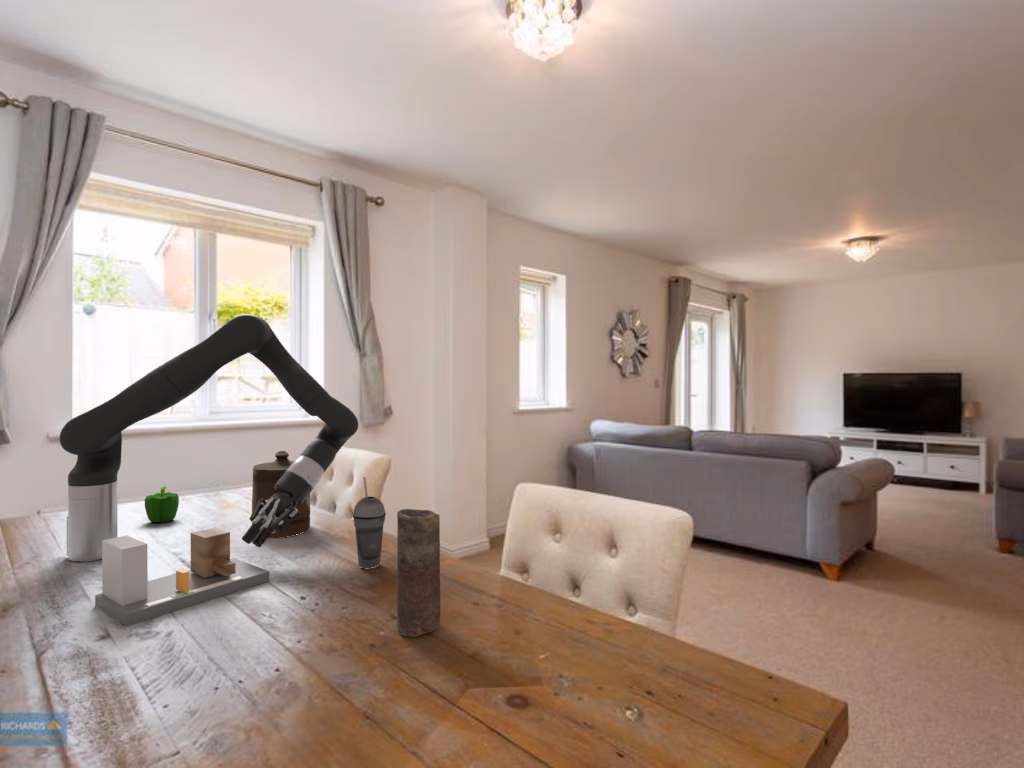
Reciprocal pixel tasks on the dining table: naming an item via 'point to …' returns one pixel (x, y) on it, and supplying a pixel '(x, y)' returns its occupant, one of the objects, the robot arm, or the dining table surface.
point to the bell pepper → (161, 506)
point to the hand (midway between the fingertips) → (250, 543)
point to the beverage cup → (369, 529)
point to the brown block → (211, 553)
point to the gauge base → (158, 583)
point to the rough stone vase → (418, 572)
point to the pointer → (182, 580)
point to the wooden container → (264, 488)
